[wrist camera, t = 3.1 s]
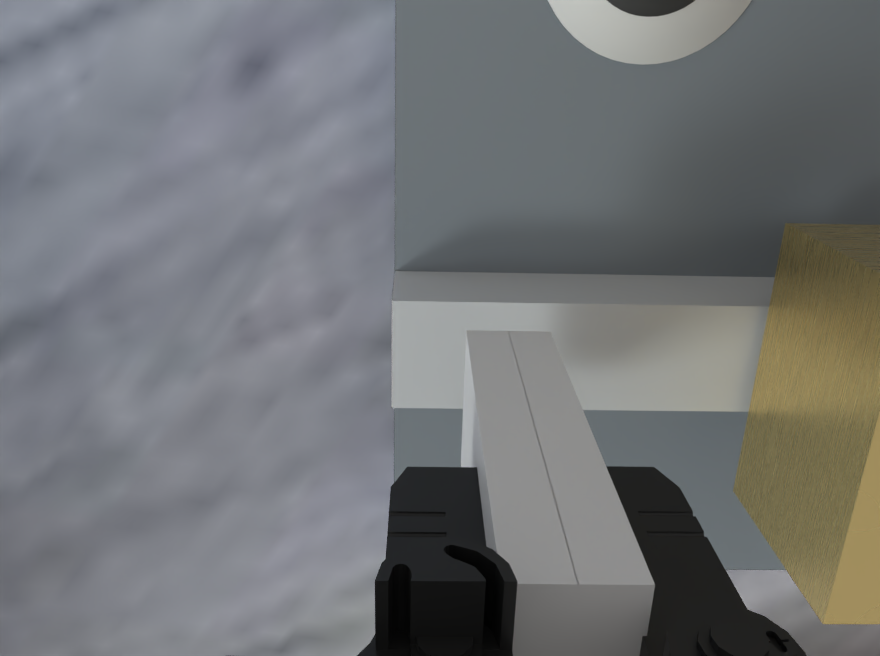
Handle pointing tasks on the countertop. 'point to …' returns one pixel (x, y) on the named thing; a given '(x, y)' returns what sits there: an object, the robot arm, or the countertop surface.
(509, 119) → the gauge board
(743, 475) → the pointer
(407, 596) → the robot arm
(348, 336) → the countertop surface
